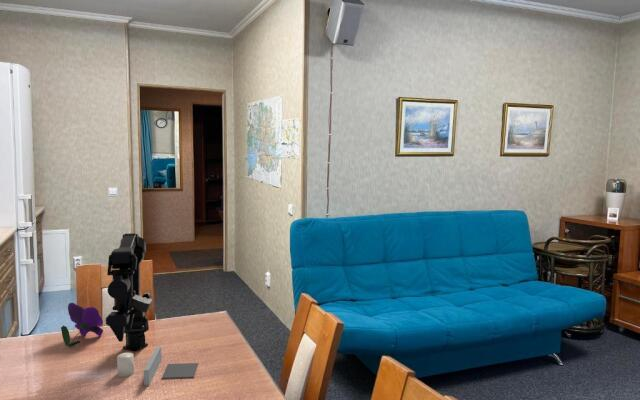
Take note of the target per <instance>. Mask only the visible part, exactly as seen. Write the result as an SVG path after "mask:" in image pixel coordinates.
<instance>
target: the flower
mask: <svg viewBox="0 0 640 400" xmlns="http://www.w3.org/2000/svg"><path fill="white" fill-rule="evenodd" d="M67 311H68V315H69V319H70V321H71V322H73V323H74V328H75V329H78V330H79V332H78V333H77V334H76V335H75V336H74V338H73V339H72V341H71V336H70V331H69V328H68V327H67V326H66V325H62V326H61V327H60V329H61V337H62V340H63V343H64V345H65V347H66V346H67V347H70V348H72V347H74V346H76V345H78V344H80V343H81V340H76V341H74V340H75V339H76V338H77V337H78V336H79V334H80V335H81V336H86V335H87V334H89V332H91V333H93V334H95V335H96V336H98V337H99V338H101V337H102V334H103V333H104V330H103V328H102V327H100V326H101V325H103V324H104V321H103V319H102V317H101V316H100V313H99V310H98V309H97V308H96V307H93V306H90V307H86V308H84V307H82V306H79V304H78V305H77V304H76V303H74V302H70V303H68V306H67Z"/></svg>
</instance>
